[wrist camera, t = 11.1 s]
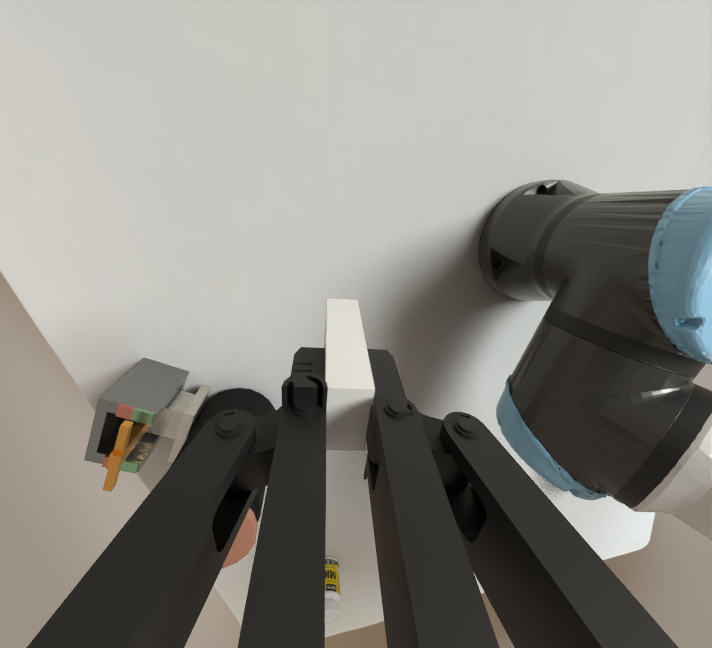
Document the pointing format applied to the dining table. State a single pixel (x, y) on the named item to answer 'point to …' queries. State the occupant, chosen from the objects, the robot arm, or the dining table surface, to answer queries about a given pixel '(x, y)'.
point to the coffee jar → (248, 530)
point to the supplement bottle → (331, 589)
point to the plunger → (158, 430)
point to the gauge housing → (133, 410)
